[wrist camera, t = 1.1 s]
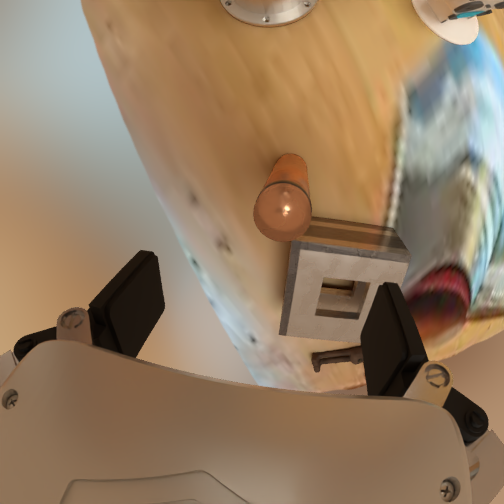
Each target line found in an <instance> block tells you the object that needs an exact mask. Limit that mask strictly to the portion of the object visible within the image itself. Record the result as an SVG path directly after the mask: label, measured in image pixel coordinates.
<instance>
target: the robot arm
mask: <svg viewBox="0 0 504 504" xmlns="http://www.w3.org/2000/svg"><path fill="white" fill-rule="evenodd" d="M220 2H221V3H222V5H223V7H224V8H225V9H226V10H227V12H228V13H230V14H231V15H232V16H233V17H234V18H236V19H238V20H240V21H242V22H244V23H247V24H250V25H255V26H262V27H275V26H282V25H287V24H290V23H293V22H296V21H298V20H300V19H301V18H303V17H305V16H306V15H307V14H309V13H310V12H311V11H312V10H313V8H314V7H315V6H316V4H317V2H318V0H220ZM229 4H231V5H230V6H228V5H229ZM306 5H308V6H309V7H306ZM266 20H269V22H265V21H266ZM89 307H90V308H89V309H88V310H87V311H86V310H85V309H83V308H79V307H75V308H71V309H68V310H66V311H64V312H63V313H62V314H61V315H60V316H59V318H58V319H57V326H56V327H53V328H49V329H46V330H43V331H40V332H36V333H33V334H29V335H26V336H24V337H22V338H21V339H20V340H18V342H17V343H16V344H15V346H14V352H11V350H9V351H8V352H6V353H4V354H3V355H1V356H0V504H489V503H490V502H491V501H492V500H493V499H494V497H495V496H496V495H497V494H498V492H499V491H500V490H501V488H502V487H503V486H504V445H503V443H502V442H501V441H500V439H499V438H498V437H497V435H496V434H495V433H494V431H493V430H491V431H489V430H488V429H487V428H488V417H487V415H486V413H485V411H484V410H483V409H482V408H480V407H479V406H478V405H476V404H475V403H473V402H472V401H471V400H469V399H468V398H467V397H465V396H464V395H463V394H461V393H460V392H458V391H457V390H456V389H454V388H453V387H452V385H453V375H452V373H451V371H450V369H449V368H448V367H447V366H446V365H445V364H443V363H441V362H439V361H429V360H428V357H427V354H426V351H425V349H424V346H423V343H422V340H421V337H420V335H419V332H418V329H417V327H416V324H415V321H414V319H413V317H412V316H411V313H410V311H409V308H408V306H407V304H406V301H405V299H404V296H403V294H402V292H401V289H400V287H399V285H398V283H393V282H384V283H383V285H379V286H378V289H377V292H376V295H375V297H374V300H373V303H372V306H371V308H370V311H369V314H368V316H367V319H366V321H365V324H364V326H363V329H362V331H361V335H360V341H361V348H362V354H363V361H364V368H365V375H366V383H367V391H368V396H364V395H345V394H328V393H315V392H304V391H295V390H286V389H278V388H270V387H263V386H257V385H250V384H244V383H238V382H233V381H227V380H221V379H216V378H212V377H207V376H203V375H198V374H194V373H189V372H185V371H181V370H177V369H173V368H169V367H165V366H161V365H158V364H154V363H151V362H147V361H144V360H140V359H137V358H136V356H137V355H138V353H139V351H140V350H141V348H142V346H143V345H144V343H145V341H146V340H147V338H148V336H149V334H150V333H151V331H152V330H153V328H154V326H155V325H156V323H157V321H158V320H159V318H160V316H161V315H162V313H163V311H164V309H165V302H164V296H163V290H162V283H161V277H160V270H159V263H158V257H157V256H156V255H155V254H154V252H151V251H144V250H140V251H139V252H138V253H137V254H136V255H135V256H134V257H133V258H132V259H131V260H130V261H129V262H128V263H127V264H126V265H125V266H124V267H123V268H122V269H121V270H120V271H119V273H117V275H116V276H115V277H114V278H113V279H112V280H111V281H110V282H109V283H108V284H107V285H106V286H105V287H104V289H102V291H101V292H100V293H99V294H98V295H97V296H96V297H95V298H94V300H93V301H92V302H91V303H90V304H89Z"/></svg>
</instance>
